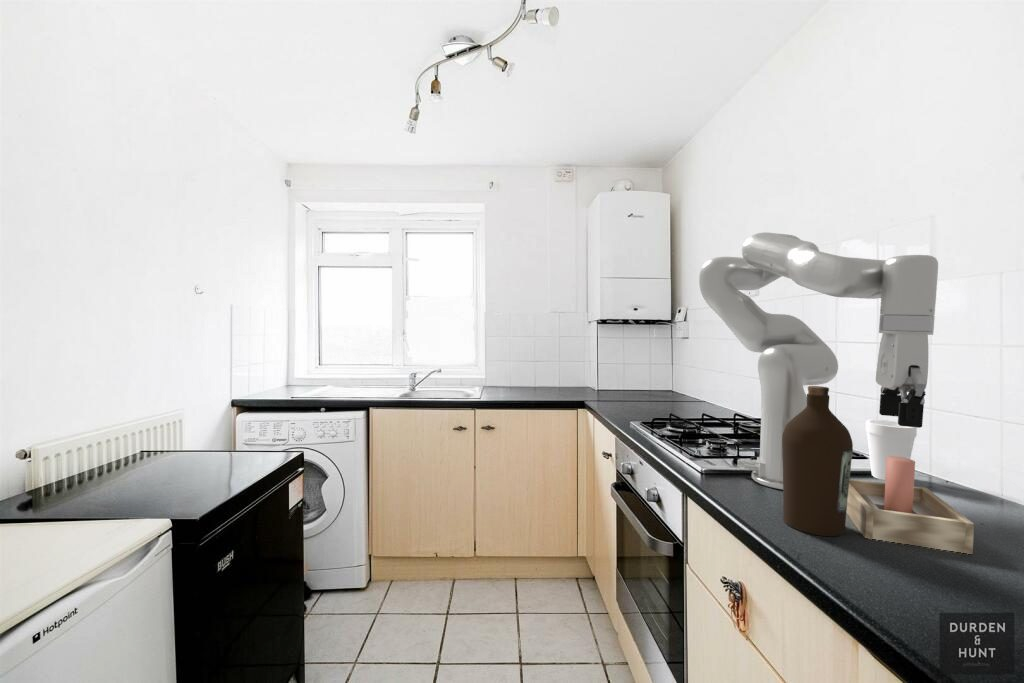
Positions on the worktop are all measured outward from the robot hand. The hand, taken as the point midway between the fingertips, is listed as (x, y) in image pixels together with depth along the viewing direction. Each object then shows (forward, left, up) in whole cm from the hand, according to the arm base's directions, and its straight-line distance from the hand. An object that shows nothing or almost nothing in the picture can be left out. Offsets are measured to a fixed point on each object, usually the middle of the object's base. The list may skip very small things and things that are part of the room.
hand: (899, 420), depth 86 cm
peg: (0, 0, -19) cm, 19 cm away
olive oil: (-14, -7, -19) cm, 25 cm away
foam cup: (+8, +33, -19) cm, 39 cm away
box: (0, 0, -19) cm, 19 cm away
